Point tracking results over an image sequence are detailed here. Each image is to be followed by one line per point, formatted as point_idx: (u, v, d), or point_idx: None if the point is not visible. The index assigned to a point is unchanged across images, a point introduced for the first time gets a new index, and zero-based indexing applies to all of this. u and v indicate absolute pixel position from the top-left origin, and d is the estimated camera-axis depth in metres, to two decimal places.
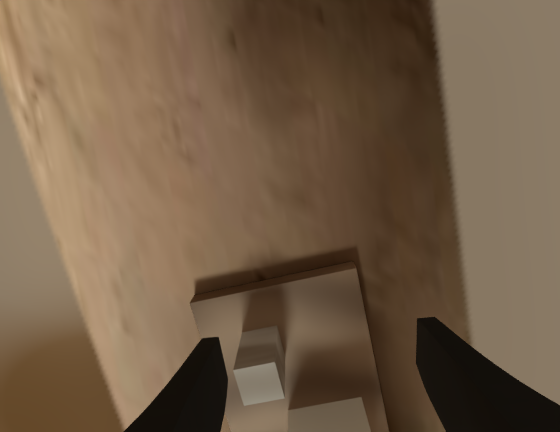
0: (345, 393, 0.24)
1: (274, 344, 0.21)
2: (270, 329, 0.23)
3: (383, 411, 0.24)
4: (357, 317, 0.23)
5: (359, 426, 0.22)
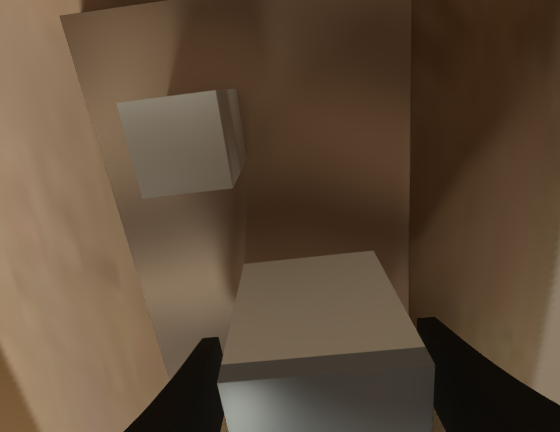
0: (347, 242, 0.14)
1: None
2: None
3: (406, 279, 0.14)
4: (394, 87, 0.12)
5: (372, 284, 0.12)
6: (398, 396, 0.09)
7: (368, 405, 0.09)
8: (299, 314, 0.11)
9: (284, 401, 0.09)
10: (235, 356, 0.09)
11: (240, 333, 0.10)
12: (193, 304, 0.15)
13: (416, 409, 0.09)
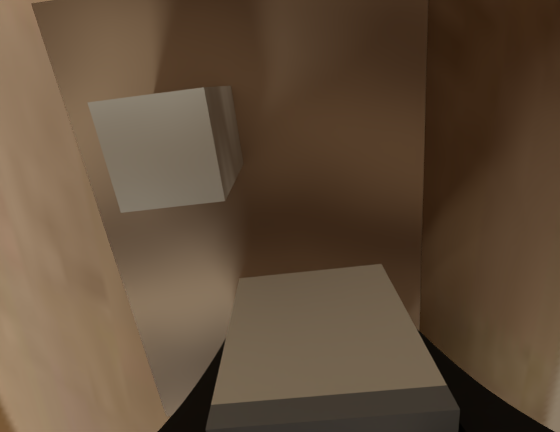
0: (354, 254, 0.12)
1: None
2: None
3: (417, 295, 0.13)
4: (407, 84, 0.10)
5: (381, 304, 0.10)
6: None
7: None
8: (300, 341, 0.09)
9: None
10: (227, 394, 0.08)
11: (234, 364, 0.09)
12: (186, 321, 0.14)
13: None
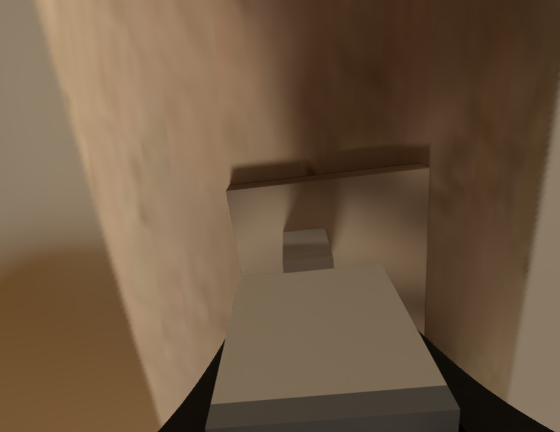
0: None
1: (327, 244, 0.18)
2: (317, 230, 0.19)
3: (422, 333, 0.22)
4: (418, 227, 0.20)
5: (381, 304, 0.10)
6: None
7: None
8: (300, 340, 0.09)
9: None
10: (227, 393, 0.08)
11: (233, 363, 0.09)
12: None
13: None
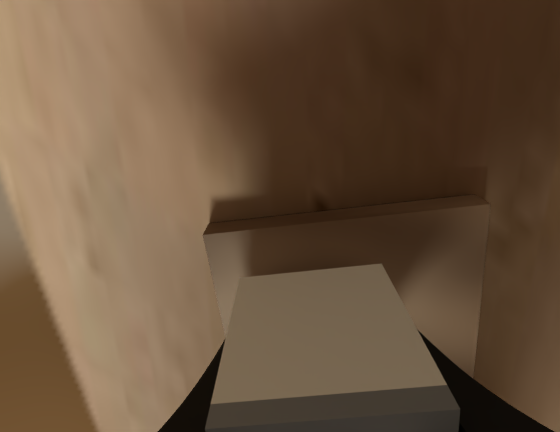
0: None
1: None
2: None
3: None
4: (469, 283, 0.14)
5: (381, 304, 0.10)
6: None
7: None
8: (300, 340, 0.09)
9: None
10: (227, 393, 0.08)
11: (233, 363, 0.09)
12: None
13: None
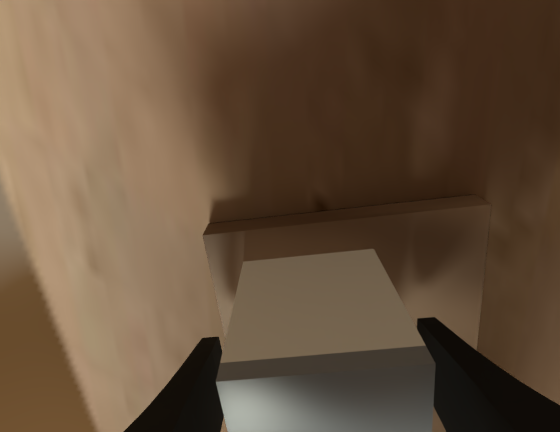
0: None
1: None
2: None
3: None
4: (470, 283, 0.14)
5: (372, 282, 0.12)
6: (398, 395, 0.08)
7: (368, 404, 0.09)
8: (299, 312, 0.10)
9: (283, 400, 0.09)
10: (234, 354, 0.09)
11: (239, 331, 0.10)
12: None
13: (416, 408, 0.09)
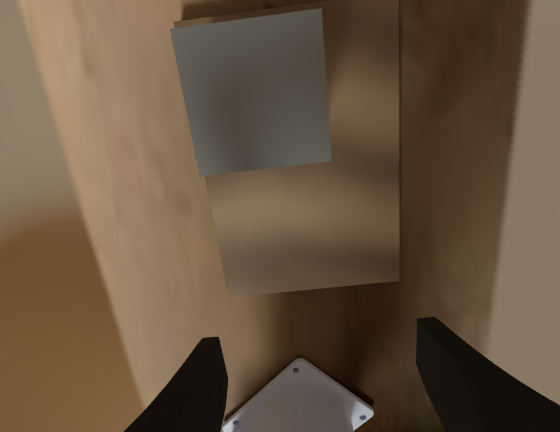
0: (357, 177, 0.20)
1: None
2: None
3: (397, 205, 0.20)
4: (388, 68, 0.18)
5: None
6: (298, 41, 0.12)
7: (278, 50, 0.12)
8: None
9: (218, 47, 0.12)
10: None
11: None
12: (247, 224, 0.21)
13: (312, 54, 0.12)
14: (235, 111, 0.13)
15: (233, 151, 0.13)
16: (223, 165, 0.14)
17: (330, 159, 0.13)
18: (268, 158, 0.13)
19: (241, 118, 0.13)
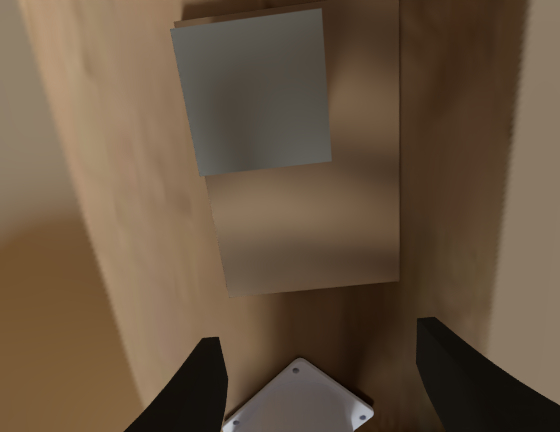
0: (357, 177, 0.20)
1: None
2: None
3: (397, 205, 0.20)
4: (388, 68, 0.18)
5: None
6: (298, 41, 0.12)
7: (278, 50, 0.12)
8: None
9: (218, 47, 0.12)
10: None
11: None
12: (247, 224, 0.21)
13: (312, 54, 0.12)
14: (235, 111, 0.13)
15: (233, 151, 0.13)
16: (223, 165, 0.14)
17: (330, 159, 0.13)
18: (268, 158, 0.13)
19: (241, 118, 0.13)
